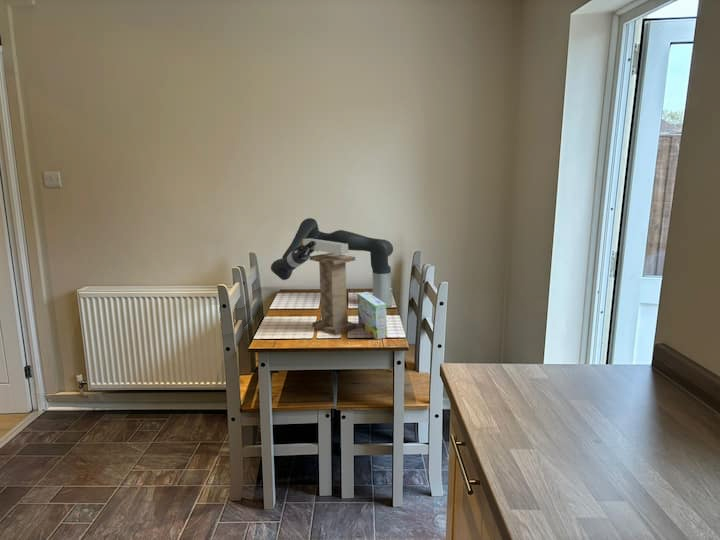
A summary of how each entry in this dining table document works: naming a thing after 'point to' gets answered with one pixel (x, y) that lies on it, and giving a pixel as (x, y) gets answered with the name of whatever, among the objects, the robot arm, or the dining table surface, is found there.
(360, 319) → the snack box
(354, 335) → the dining table surface
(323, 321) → the stand
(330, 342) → the dining table surface
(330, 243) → the bar
